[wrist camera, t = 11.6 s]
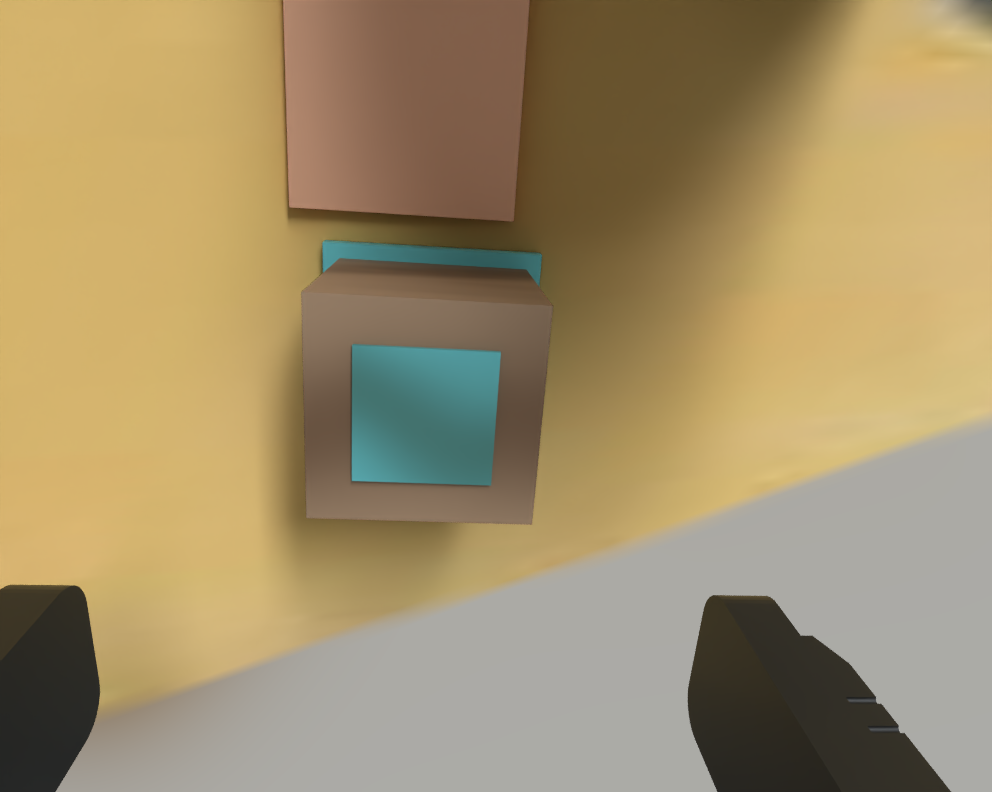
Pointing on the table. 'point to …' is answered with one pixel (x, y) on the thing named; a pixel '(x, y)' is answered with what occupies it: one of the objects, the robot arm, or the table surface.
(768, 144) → the table surface
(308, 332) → the cube
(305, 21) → the pad terracotta
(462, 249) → the pad teal
